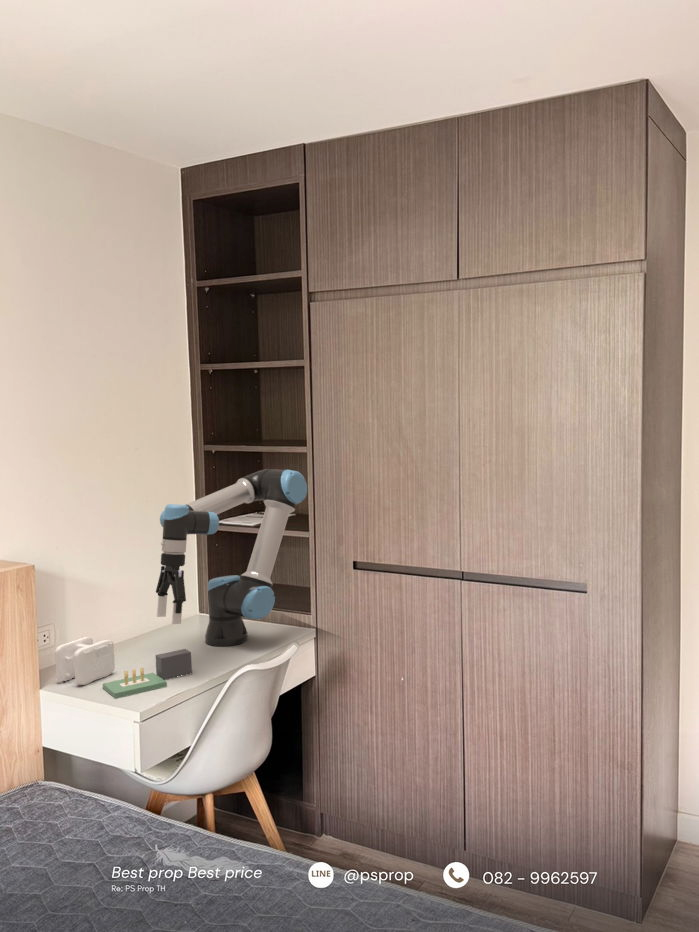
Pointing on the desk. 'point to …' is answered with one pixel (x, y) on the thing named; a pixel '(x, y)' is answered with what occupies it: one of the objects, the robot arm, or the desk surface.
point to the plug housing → (173, 664)
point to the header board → (134, 684)
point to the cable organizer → (84, 660)
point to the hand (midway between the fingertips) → (168, 620)
